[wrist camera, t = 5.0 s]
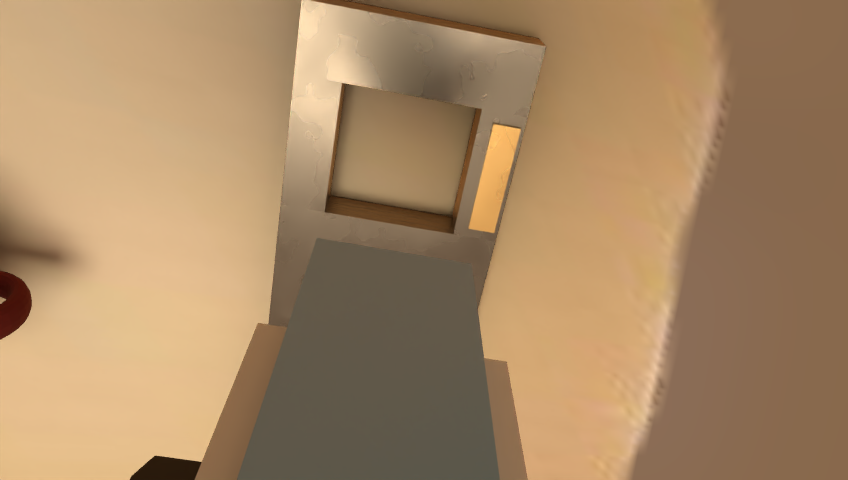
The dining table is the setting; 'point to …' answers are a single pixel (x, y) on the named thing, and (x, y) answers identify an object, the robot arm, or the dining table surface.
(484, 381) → the plug
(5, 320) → the mug
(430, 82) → the panel
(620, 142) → the dining table surface
